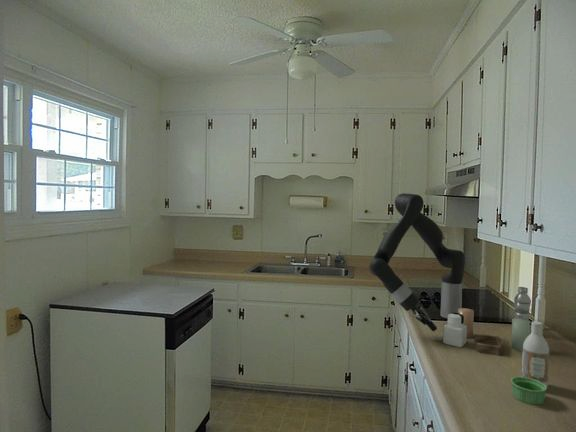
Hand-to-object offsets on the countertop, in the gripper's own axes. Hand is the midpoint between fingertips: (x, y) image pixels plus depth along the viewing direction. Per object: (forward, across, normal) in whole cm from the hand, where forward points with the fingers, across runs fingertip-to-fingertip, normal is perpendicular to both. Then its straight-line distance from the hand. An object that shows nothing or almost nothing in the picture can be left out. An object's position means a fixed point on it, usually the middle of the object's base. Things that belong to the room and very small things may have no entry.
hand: (435, 329), depth 161 cm
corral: (+17, 0, -11) cm, 20 cm away
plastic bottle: (+28, +25, -21) cm, 43 cm away
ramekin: (+22, -39, -16) cm, 47 cm away
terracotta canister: (+11, +11, -5) cm, 17 cm away
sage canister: (+25, +5, -19) cm, 32 cm away
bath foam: (+24, -29, -18) cm, 42 cm away
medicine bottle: (+8, 0, -2) cm, 9 cm away
